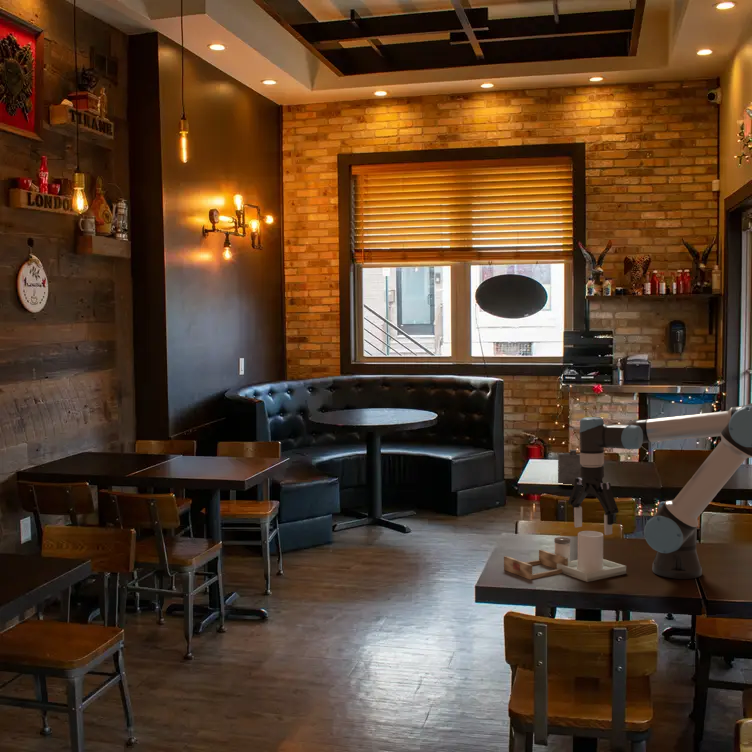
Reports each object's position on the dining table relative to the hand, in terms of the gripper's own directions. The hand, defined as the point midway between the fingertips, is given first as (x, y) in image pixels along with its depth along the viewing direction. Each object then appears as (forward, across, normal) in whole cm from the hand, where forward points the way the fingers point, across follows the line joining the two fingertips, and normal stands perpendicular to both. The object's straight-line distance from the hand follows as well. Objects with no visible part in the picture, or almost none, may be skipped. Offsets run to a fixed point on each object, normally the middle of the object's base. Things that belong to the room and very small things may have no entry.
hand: (593, 530), depth 291 cm
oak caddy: (+14, +12, +14) cm, 23 cm away
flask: (+13, +115, -98) cm, 151 cm away
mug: (+13, +1, 0) cm, 13 cm away
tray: (+14, +1, 0) cm, 14 cm away
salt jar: (+14, +12, +3) cm, 18 cm away
